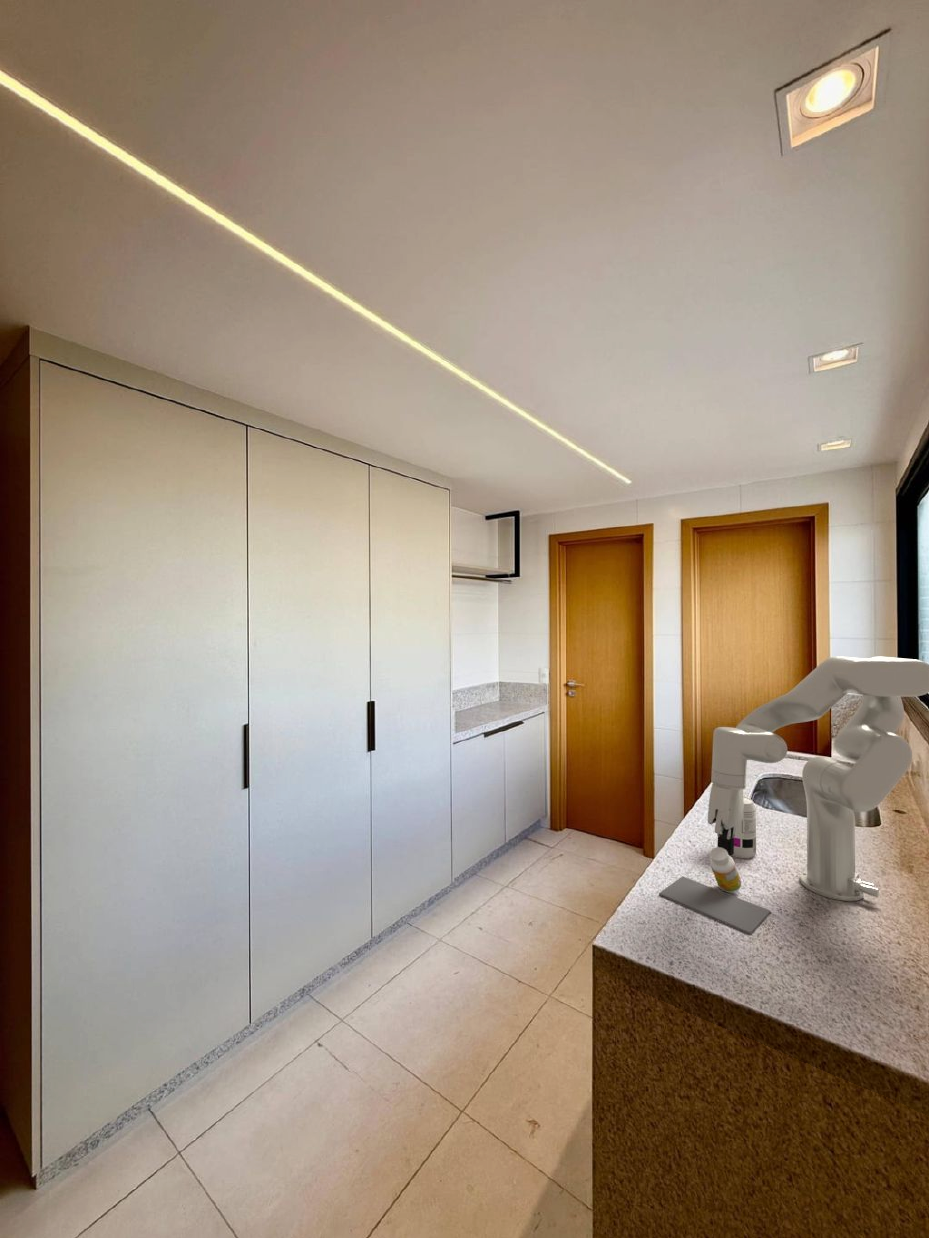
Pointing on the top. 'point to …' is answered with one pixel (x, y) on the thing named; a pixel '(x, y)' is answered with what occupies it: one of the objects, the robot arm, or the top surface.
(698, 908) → the mat
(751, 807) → the supplement can
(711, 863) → the supplement bottle
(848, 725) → the robot arm
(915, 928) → the top surface
